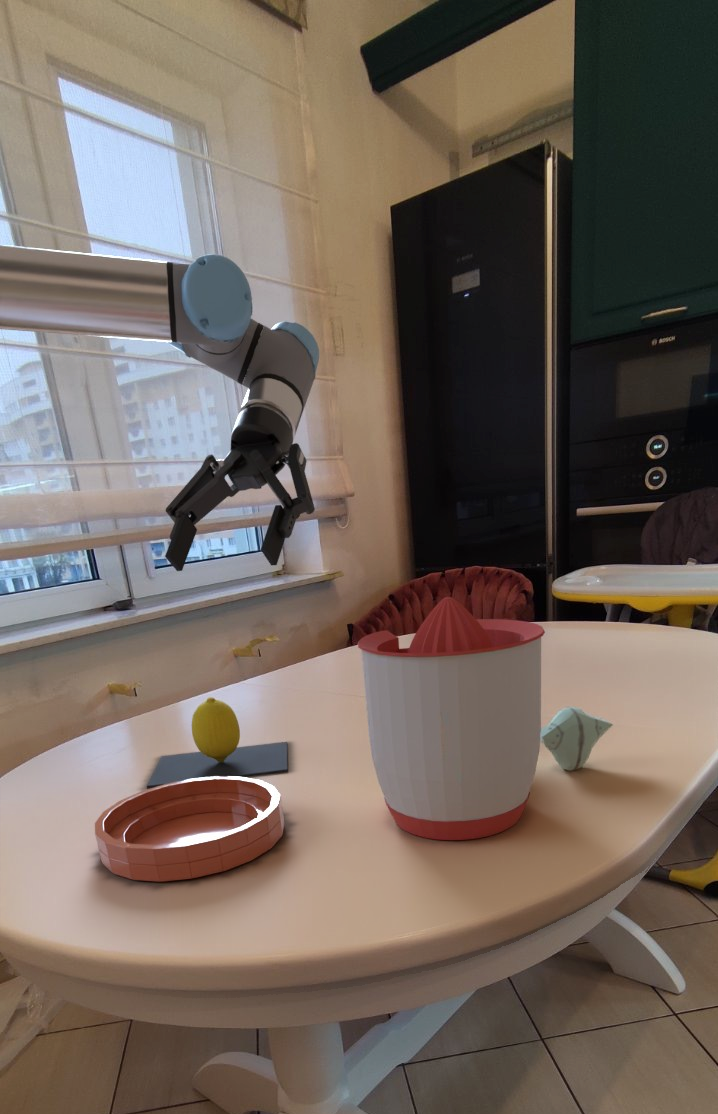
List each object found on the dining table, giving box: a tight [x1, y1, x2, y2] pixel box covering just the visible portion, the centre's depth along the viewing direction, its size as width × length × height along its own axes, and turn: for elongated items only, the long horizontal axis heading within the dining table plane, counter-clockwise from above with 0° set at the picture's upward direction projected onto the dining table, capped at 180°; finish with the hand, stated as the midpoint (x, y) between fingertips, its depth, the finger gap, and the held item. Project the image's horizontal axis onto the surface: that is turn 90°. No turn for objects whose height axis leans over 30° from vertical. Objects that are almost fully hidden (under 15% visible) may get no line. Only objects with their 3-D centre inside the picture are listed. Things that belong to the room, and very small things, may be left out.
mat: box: [146, 741, 289, 790], centre depth 87 cm, size 16×11×1 cm
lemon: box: [191, 696, 241, 762], centre depth 86 cm, size 6×6×8 cm
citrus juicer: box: [357, 596, 546, 841], centre depth 64 cm, size 16×17×20 cm
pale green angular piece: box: [540, 706, 614, 771], centre depth 75 cm, size 8×4×7 cm, turn 105°
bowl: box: [94, 776, 285, 882], centre depth 67 cm, size 17×17×4 cm
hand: (219, 561), depth 87 cm, fingers open, 13 cm apart
